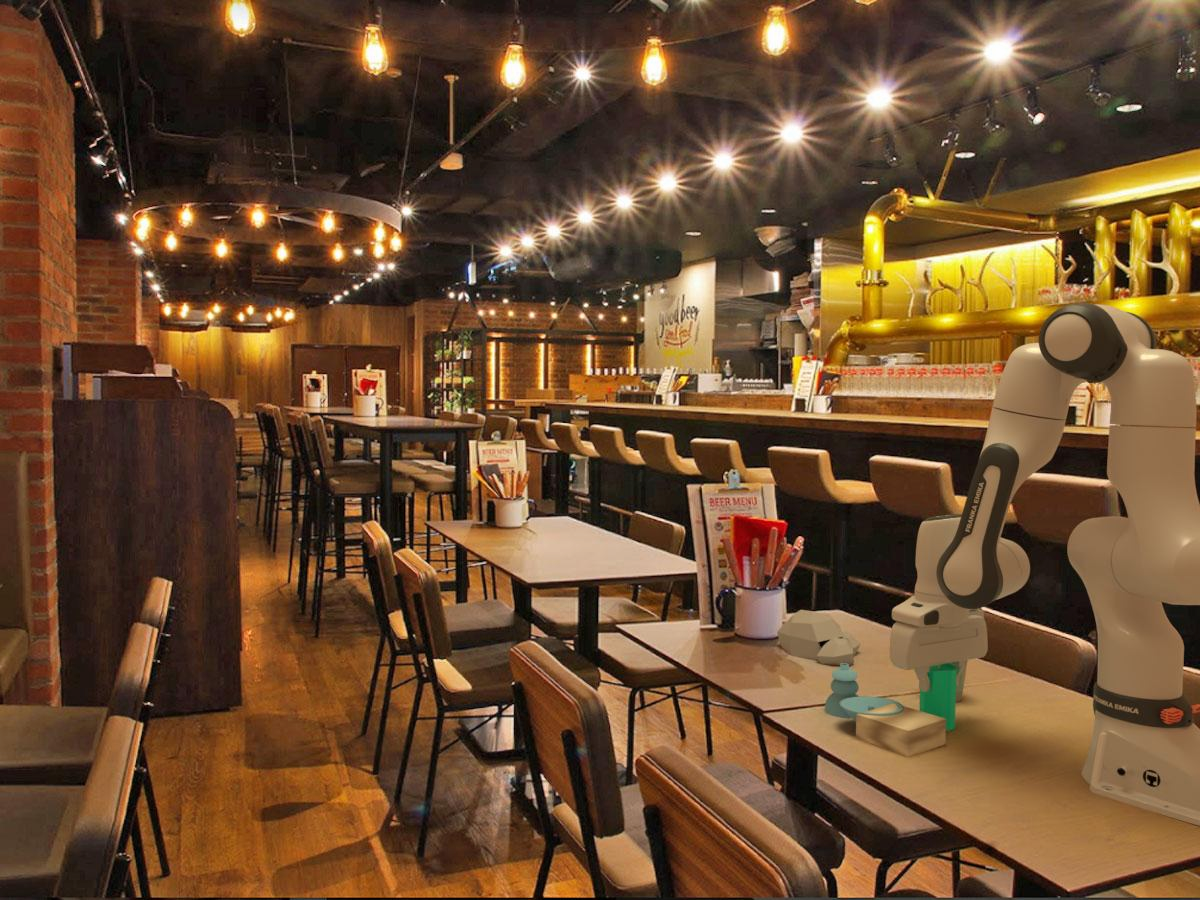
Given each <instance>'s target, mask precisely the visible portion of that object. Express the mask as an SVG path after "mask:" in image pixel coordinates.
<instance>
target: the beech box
mask: <svg viewBox="0 0 1200 900" xmlns="http://www.w3.org/2000/svg"><path fill="white" fill-rule="evenodd" d="M903 707H904V709H903V710H902V711H901V712H899V713H897V714H892V715H866V714H860V713H859V714H856V722H855V739H857V740H861V741H863V742H865V743H868V744H872V745H874V746H877V747H879V748H882V749H885V750H888V751H891V752H894V753H897V754H899V755H902V756H904V757H911V756H914V755H915V756H916V755H917V754H920V753H924V752H928V751H931V750H934V749H937V748H940V747H943V746H946V745H947V744H946V737H947V735H946V731H947V730H946V719H945V718H942V717H938V716H935V715H932V714H928V713H925V712H922V711H919V710H918V709H914V708H911V707H909V706H905V705H903ZM896 710H898V707H897V706H896V705H895V704H889V705H886V706H883V707H879V708H876V709H872V710H869V711H866V712H865V713H889V712H893V711H896Z"/></svg>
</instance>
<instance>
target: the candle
mask: <svg viewBox="0 0 1200 900" xmlns="http://www.w3.org/2000/svg"><path fill="white" fill-rule="evenodd" d="M927 675H928V678H929V680H930V681H932V690H931V691H929V692H923V691H921V690H920V689H919V710H918V711H922V712H925V713H928V714H932V715H935V716H938V717H942V718H945V719H946V731H951V730H955V728H956V704H957V702H956V676H957V668H956V667H955V666H953V665H951V664H949V663H946V664H941V665H935V666H930V669H929V672H928V673H927Z"/></svg>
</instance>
